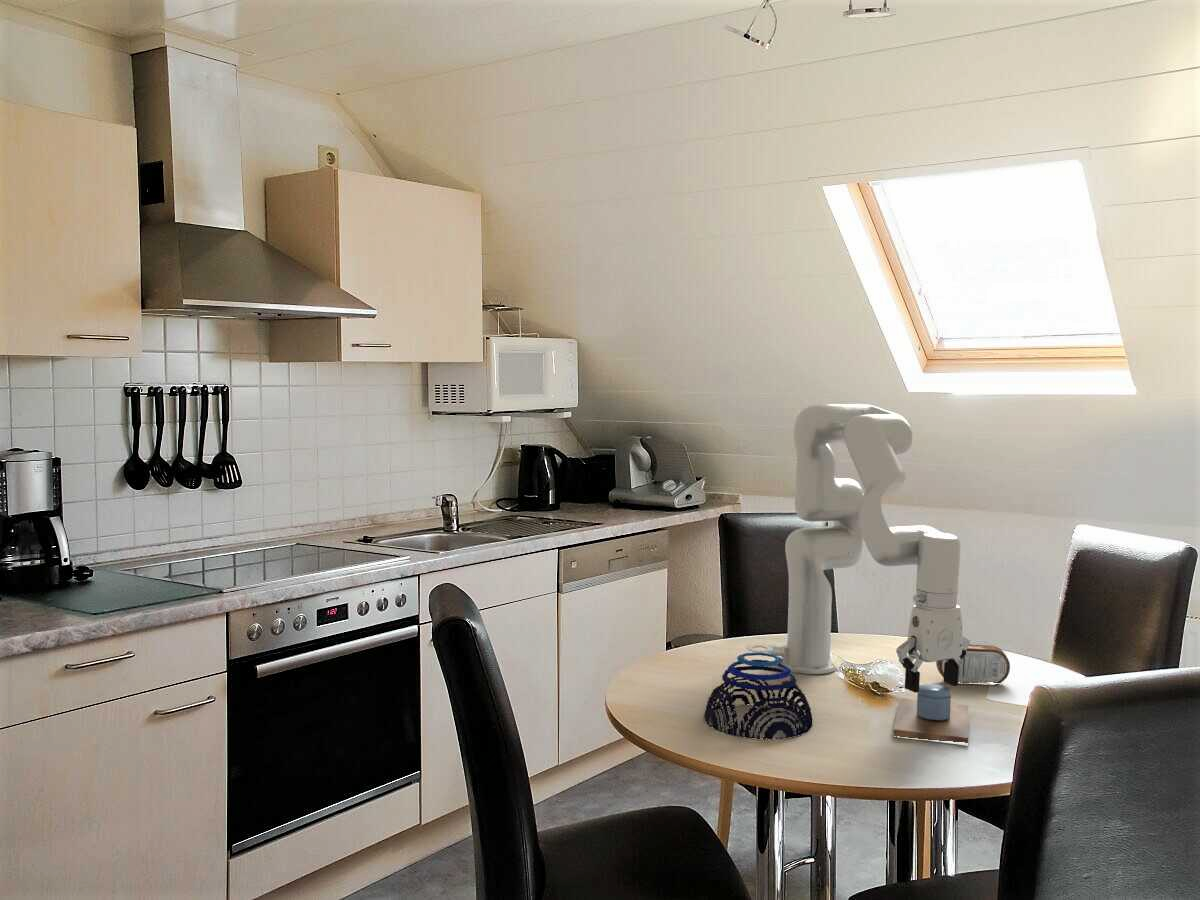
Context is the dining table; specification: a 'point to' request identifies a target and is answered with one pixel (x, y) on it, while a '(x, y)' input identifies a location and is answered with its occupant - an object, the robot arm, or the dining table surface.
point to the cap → (934, 702)
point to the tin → (981, 665)
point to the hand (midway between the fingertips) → (931, 687)
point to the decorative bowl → (787, 685)
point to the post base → (931, 723)
